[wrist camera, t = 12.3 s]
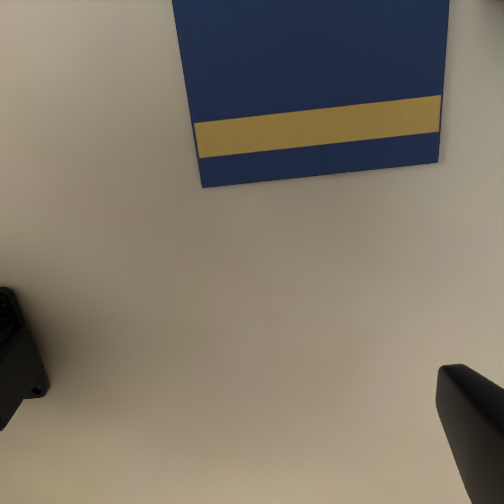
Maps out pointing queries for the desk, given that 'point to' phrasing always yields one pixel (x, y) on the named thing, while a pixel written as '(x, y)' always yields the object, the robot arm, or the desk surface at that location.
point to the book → (311, 85)
